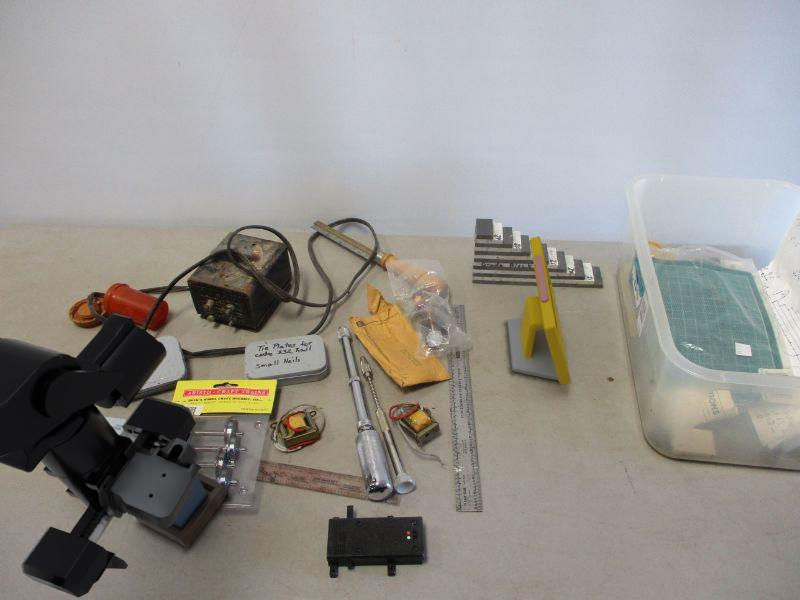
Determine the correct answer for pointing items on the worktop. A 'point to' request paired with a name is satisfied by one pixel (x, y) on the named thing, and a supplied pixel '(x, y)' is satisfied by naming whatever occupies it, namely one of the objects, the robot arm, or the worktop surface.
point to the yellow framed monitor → (539, 329)
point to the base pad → (196, 514)
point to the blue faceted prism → (191, 504)
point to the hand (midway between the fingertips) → (149, 523)
